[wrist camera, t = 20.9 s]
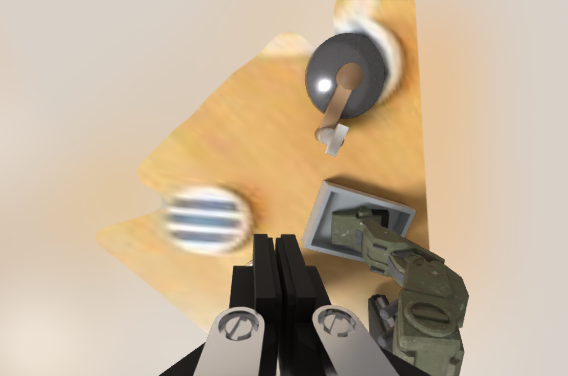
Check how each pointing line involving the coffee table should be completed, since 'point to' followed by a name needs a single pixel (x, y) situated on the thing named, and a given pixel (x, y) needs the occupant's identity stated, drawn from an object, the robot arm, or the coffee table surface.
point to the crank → (338, 108)
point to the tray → (343, 200)
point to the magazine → (379, 319)
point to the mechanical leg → (410, 291)
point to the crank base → (331, 59)
